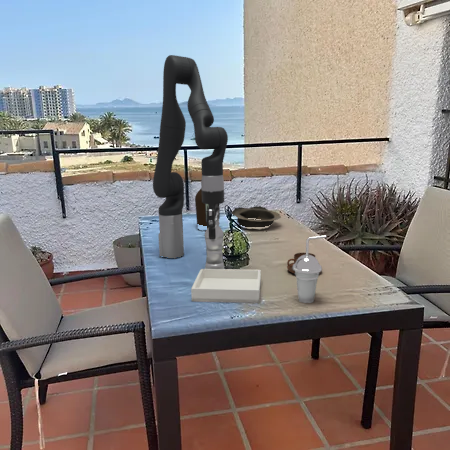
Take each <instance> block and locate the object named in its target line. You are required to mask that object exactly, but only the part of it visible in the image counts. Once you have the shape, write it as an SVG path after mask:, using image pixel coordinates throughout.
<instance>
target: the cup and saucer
mask: <svg viewBox="0 0 450 450" xmlns="http://www.w3.org/2000/svg"><path fill="white" fill-rule="evenodd" d="M302 255H306V252H297V253H295V254H294V255H293V258H289V259H288V260H287V262H286V264H287V266H286V268H287V270H288V271H289V272H290V273H292V274H294V275H295V271H294V270H293V269H292V267H293V265H294V264H295V263H296V261H297V259H298V258H299V257H300V256H302ZM308 255H312V256H314V257H315V258H316V255H315V254H313V253H311V252H308ZM292 261H293V262H292ZM291 262H292V263H291Z"/></svg>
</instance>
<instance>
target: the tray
mask: <svg viewBox="0 0 450 450" xmlns="http://www.w3.org/2000/svg"><path fill="white" fill-rule="evenodd" d="M261 273H262V270H261V269H241V268H239V269H238V268H237V269H235V268H233V269H231V268H230V269H229V268H228V269H226V268H224V269H205V268H200V270H199V272H198V274H197V276H196V278H195V280H194V282H193V284H192V286H191V289H190V292H191V293H190V294H191V302H195V303H196V302H197V303H199V302H201V303H205V302H207V303H238V304H239V303H240V304H242V303H243V304H244V303H245V304H260V299H261V298H260V297H261V285H262V284H261V282H262V281H261V280H262V279H261V278H262V275H261Z"/></svg>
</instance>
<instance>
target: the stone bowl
mask: <svg viewBox="0 0 450 450" xmlns="http://www.w3.org/2000/svg"><path fill="white" fill-rule="evenodd" d="M231 212H232V213H231V215H233V216H234V217H236V218H237V220H236V221H237V223H238V224H239V226H240V225H242V226H245V227H265V226H269V225H271V224H272V225H273V224H274V222H275V221H277V220H279V219H281V218H282V217H281V215H280V213H278V212H277V211H273V210H269V209H268V208H267V207H263V206H261V205H260V206H259V205H255V206H254V207H242V206H241V207H240V206H239V207H234V209H233V210H232V211H231ZM248 218H256V219H261V220H256V219H255V220H254V219H248ZM272 225H271V226H272Z"/></svg>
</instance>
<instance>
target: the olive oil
mask: <svg viewBox="0 0 450 450" xmlns="http://www.w3.org/2000/svg"><path fill="white" fill-rule="evenodd" d="M194 196H195V197H194V201H195V202H194V203H195V213H196V214H195V215H196V225H197V224H199V225H203V226H207V212H206V211H207V209H208V208H209V205H208V204H204V203H202V190H201V188H200V189H199V190H198V191H197V192H196V194H195V195H194Z"/></svg>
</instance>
